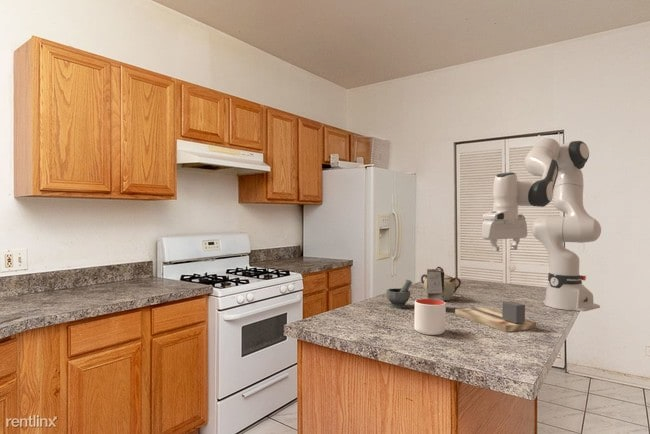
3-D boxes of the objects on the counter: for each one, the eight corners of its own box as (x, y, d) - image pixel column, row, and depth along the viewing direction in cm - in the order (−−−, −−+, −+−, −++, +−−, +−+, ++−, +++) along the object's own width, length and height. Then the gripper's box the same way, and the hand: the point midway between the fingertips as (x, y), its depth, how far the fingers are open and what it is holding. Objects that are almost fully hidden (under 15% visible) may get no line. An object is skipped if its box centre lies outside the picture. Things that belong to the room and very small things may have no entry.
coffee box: (444, 312, 160) (444, 272, 160) (427, 311, 162) (428, 271, 162) (442, 307, 169) (442, 269, 169) (426, 306, 171) (426, 268, 171)
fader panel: (482, 311, 162) (482, 306, 162) (535, 328, 139) (536, 322, 139) (455, 314, 157) (455, 308, 157) (505, 332, 134) (505, 325, 134)
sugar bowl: (412, 298, 187) (413, 266, 187) (428, 293, 198) (428, 263, 198) (453, 304, 174) (453, 270, 174) (467, 299, 185) (467, 267, 185)
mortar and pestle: (382, 306, 169) (382, 278, 169) (394, 303, 176) (394, 275, 176) (405, 311, 161) (405, 281, 161) (417, 307, 168) (417, 278, 168)
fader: (510, 317, 143) (511, 301, 143) (524, 322, 137) (525, 304, 137) (502, 318, 142) (502, 302, 142) (516, 323, 136) (516, 305, 136)
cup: (440, 338, 126) (440, 306, 126) (409, 332, 132) (410, 302, 132) (448, 330, 135) (449, 301, 135) (419, 325, 140) (420, 297, 140)
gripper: (518, 213, 161) (518, 248, 161) (479, 215, 153) (479, 251, 153) (531, 214, 155) (531, 249, 156) (491, 215, 147) (491, 252, 148)
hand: (505, 250), depth 154 cm, fingers open, 8 cm apart
